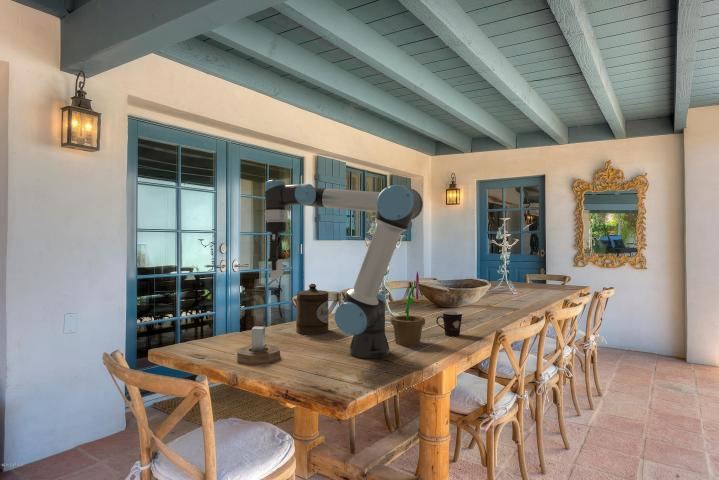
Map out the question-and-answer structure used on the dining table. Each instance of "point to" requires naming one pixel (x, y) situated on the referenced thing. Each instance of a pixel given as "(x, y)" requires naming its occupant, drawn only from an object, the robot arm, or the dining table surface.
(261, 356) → the brown wooden ring
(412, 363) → the dining table surface
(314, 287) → the wooden container
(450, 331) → the coffee mug
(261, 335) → the light grey rectangular block
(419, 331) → the flowerpot
